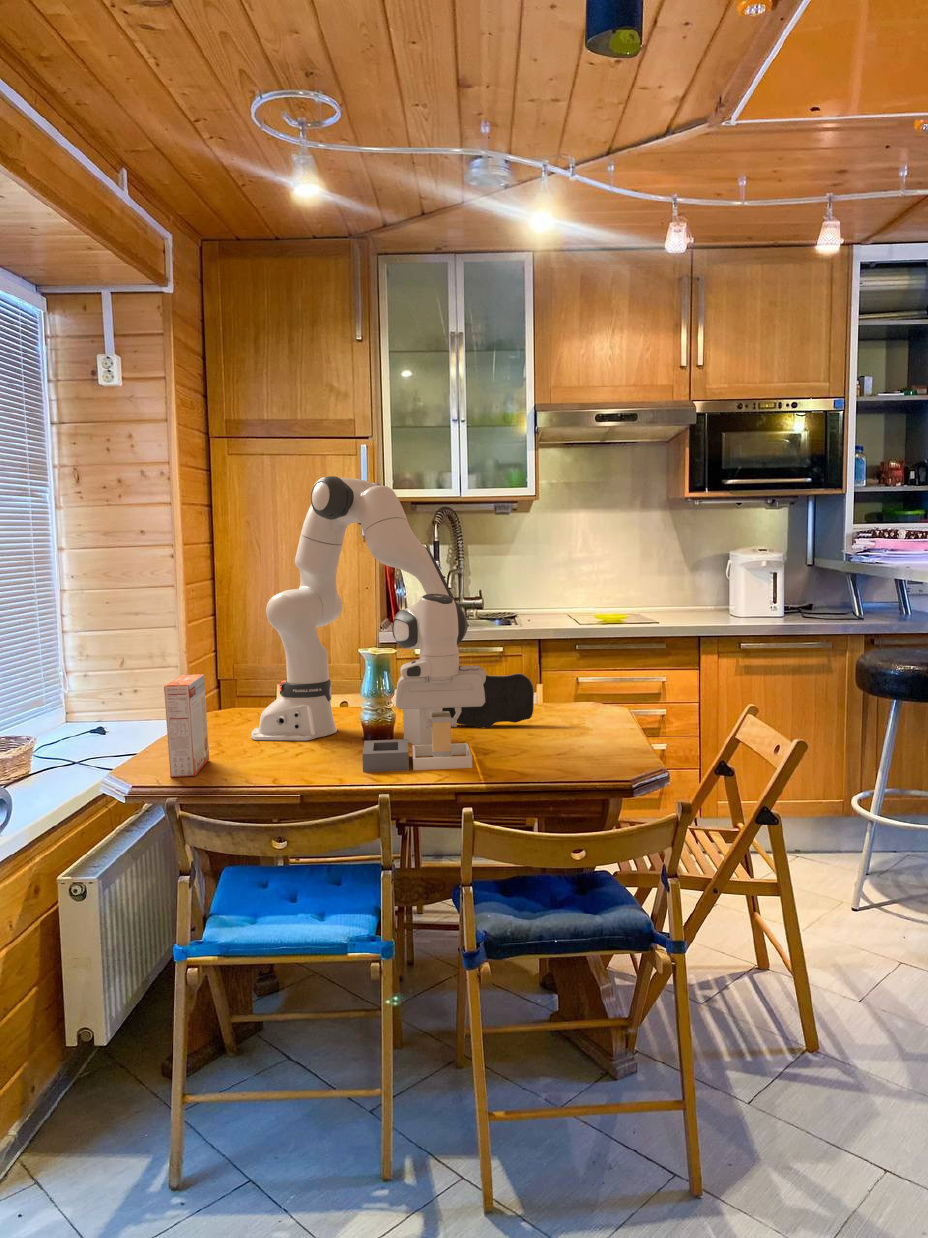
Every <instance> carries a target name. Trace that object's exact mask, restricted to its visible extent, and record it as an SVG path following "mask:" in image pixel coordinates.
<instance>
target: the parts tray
mask: <svg viewBox="0 0 928 1238" xmlns="http://www.w3.org/2000/svg"><path fill="white" fill-rule="evenodd" d="M411 750H412V751H411V753H412V757H411V758H412V768H413V769H412V770H413V771H422V770H423V771H424V770H425V771H426V770H446V769H448V770H451V769H470V768H471V769H472V768H473V755H472V752H471V749H470V746H469V743H467V742H463V743H451V750H452V756H451V757H433V754H432V744H428V745H415V744H412V745H411Z"/></svg>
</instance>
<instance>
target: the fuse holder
mask: <svg viewBox="0 0 928 1238" xmlns="http://www.w3.org/2000/svg"><path fill="white" fill-rule="evenodd" d="M409 763H410V761H409V743H408V739H404V738H403V739H402V738H401V739H379V740H376V739H375V740H364V741H363V748H362V772H363V773H374V772H375V773H376V772H377V773H378V772H379V773H380V772H397V771H398V772H399V771H400V772H401V771H409V770H410V764H409Z"/></svg>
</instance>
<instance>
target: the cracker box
mask: <svg viewBox="0 0 928 1238" xmlns="http://www.w3.org/2000/svg"><path fill="white" fill-rule="evenodd" d="M205 685H206V684H205V674H181V675H179V676H178V677H176V678H174V679H173V680H172V681H169V682H168V683H166V684H165V685H164V686H163V692H164V704H165V717H166V718H165V719H166V733H167V745H168V746H167V749H168V761H169V773H170V774H169V775H170V778H185V777H196V776H197V775H198V773H200V771H201V770H203V768H204V766H205V765H206V764H207V763H208V761H210V750H209V733H208V717H207V703H206V702H207V701H206V688H205V687H206V686H205Z"/></svg>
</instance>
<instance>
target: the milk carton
mask: <svg viewBox="0 0 928 1238" xmlns="http://www.w3.org/2000/svg"><path fill="white" fill-rule="evenodd" d="M440 711H442V708H426V713H425V715H426V716H427V718H428V719H431V712H440ZM402 715H403V716H402V719H403V721H402V722H403V725H402V726H403V739H408V744H412V745H432V728H426V727H425V720H424V718H423V717H422V715H421V714H420V709H402Z"/></svg>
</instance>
